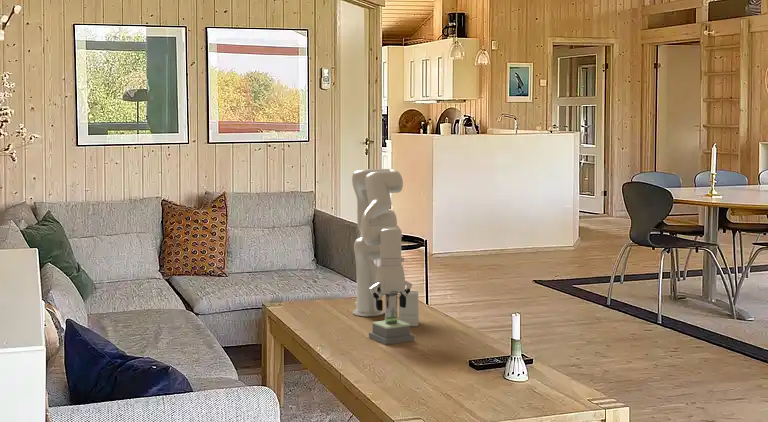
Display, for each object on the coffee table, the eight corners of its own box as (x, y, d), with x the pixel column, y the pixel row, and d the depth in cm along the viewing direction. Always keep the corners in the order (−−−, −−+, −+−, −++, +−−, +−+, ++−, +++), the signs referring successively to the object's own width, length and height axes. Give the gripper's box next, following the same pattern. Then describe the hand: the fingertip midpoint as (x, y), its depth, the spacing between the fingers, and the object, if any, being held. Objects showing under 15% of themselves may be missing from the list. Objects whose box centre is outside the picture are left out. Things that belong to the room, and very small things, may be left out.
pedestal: (368, 338, 356) (368, 321, 356) (397, 333, 362) (396, 318, 362) (385, 344, 346) (385, 328, 345) (414, 340, 352) (414, 324, 351)
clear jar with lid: (381, 322, 354) (381, 290, 353) (393, 320, 357) (393, 288, 356) (388, 325, 350) (388, 292, 349) (401, 323, 353) (400, 290, 351)
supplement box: (419, 322, 381) (419, 290, 380) (417, 326, 374) (417, 294, 372) (400, 322, 382) (400, 290, 380) (398, 326, 374) (398, 294, 373)
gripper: (405, 258, 358) (406, 304, 360) (364, 262, 350) (365, 309, 352) (416, 261, 352) (416, 307, 354) (375, 265, 343) (375, 313, 345)
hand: (391, 308), depth 353 cm, fingers open, 9 cm apart
